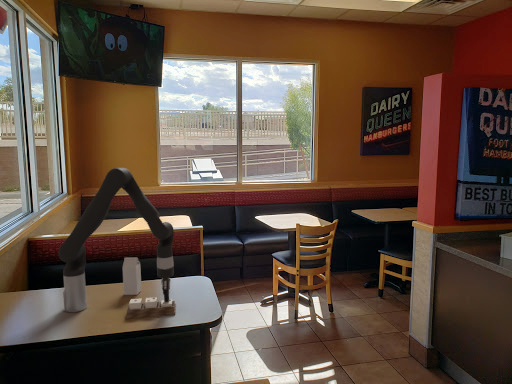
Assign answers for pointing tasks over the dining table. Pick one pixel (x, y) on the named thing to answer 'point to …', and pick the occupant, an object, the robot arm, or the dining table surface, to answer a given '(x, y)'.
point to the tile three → (166, 303)
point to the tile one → (135, 304)
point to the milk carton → (131, 276)
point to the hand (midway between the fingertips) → (166, 301)
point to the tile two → (151, 302)
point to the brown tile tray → (151, 311)
